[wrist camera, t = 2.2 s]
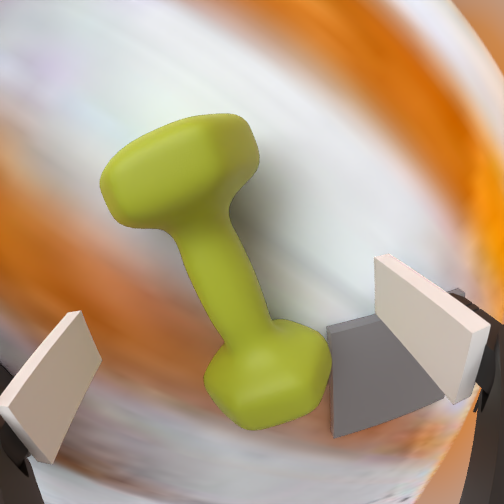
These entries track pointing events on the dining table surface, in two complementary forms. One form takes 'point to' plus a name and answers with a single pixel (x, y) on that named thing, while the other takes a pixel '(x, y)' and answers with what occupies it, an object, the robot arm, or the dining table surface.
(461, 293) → the trivet
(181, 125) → the dumbbell
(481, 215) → the dining table surface
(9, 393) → the robot arm
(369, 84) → the dining table surface
